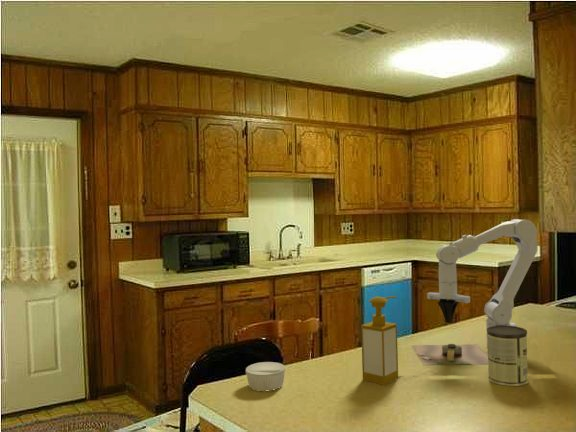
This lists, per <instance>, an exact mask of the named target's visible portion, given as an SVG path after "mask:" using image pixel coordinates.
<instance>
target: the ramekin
mask: <svg viewBox="0 0 576 432" xmlns="http://www.w3.org/2000/svg"><path fill="white" fill-rule="evenodd" d="M285 372H286V366H285V365H284V364H282V363H281V362H273V361H263V362H262V361H261V362H256V363H253V364H252V363H251V364H250V365H248V366H247V367H245V374H246V378H247V384H248V387H249V388H250V389H251V388H252V389H251V390H253V389H254V390H253V391H255V390H260V391H266V390H273V389H277V388H279V387H281V388H282V387H283V385H284V383H285V382H284V380H285V374H286V373H285ZM279 389H280V388H279ZM277 390H278V389H277ZM260 391H259V392H260Z"/></svg>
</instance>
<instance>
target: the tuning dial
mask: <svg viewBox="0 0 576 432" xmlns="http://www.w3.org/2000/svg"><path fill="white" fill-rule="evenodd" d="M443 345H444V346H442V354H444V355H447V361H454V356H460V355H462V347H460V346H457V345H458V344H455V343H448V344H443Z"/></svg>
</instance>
